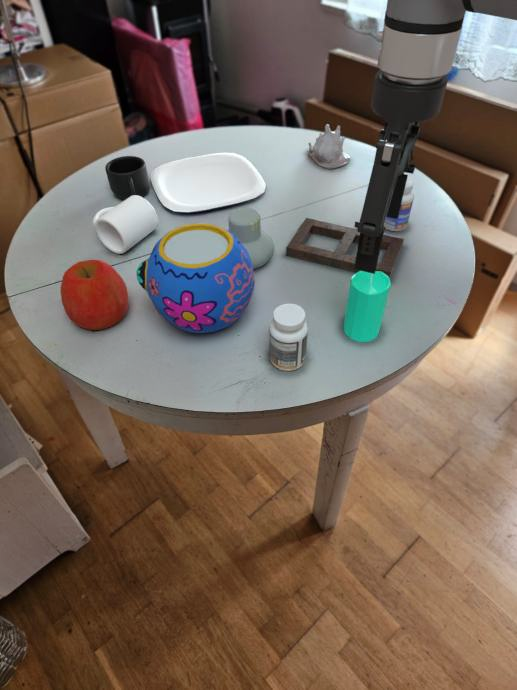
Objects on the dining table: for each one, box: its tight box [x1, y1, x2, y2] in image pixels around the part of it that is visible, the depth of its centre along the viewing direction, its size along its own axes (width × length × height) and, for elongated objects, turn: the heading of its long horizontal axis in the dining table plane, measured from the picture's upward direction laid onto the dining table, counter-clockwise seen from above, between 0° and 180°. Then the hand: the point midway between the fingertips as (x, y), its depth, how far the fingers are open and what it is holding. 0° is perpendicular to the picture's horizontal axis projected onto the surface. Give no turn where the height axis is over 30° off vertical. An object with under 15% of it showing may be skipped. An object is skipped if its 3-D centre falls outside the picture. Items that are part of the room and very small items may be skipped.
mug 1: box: [104, 155, 150, 200], centre depth 108 cm, size 12×9×7 cm
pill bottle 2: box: [384, 177, 415, 232], centre depth 96 cm, size 5×5×10 cm
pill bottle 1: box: [268, 303, 309, 372], centre depth 71 cm, size 6×6×10 cm
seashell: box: [307, 123, 351, 170], centre depth 117 cm, size 10×12×9 cm
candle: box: [342, 271, 392, 343], centre depth 75 cm, size 6×6×12 cm
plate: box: [149, 152, 267, 214], centre depth 112 cm, size 25×25×2 cm
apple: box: [60, 258, 129, 331], centre depth 79 cm, size 11×11×11 cm
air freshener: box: [227, 207, 275, 270], centre depth 89 cm, size 11×8×10 cm
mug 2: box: [92, 195, 159, 255], centre depth 96 cm, size 12×10×8 cm
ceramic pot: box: [136, 223, 256, 334], centre depth 77 cm, size 18×18×15 cm
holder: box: [285, 217, 405, 280], centre depth 93 cm, size 21×11×2 cm, turn 66°
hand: (377, 241), depth 65 cm, fingers open, 13 cm apart
